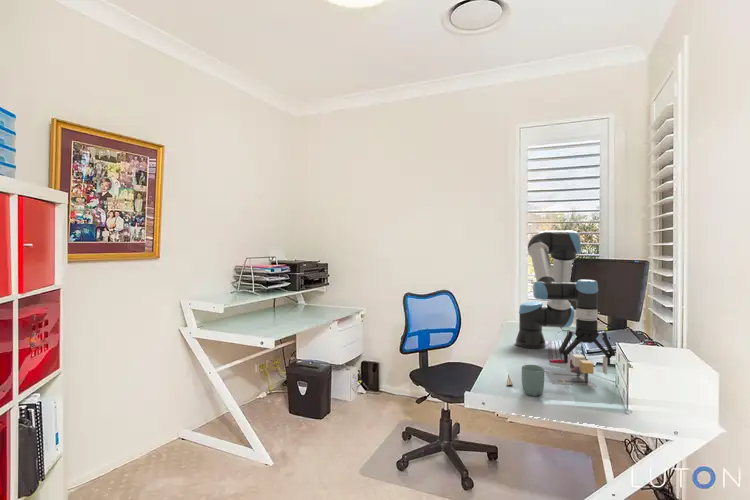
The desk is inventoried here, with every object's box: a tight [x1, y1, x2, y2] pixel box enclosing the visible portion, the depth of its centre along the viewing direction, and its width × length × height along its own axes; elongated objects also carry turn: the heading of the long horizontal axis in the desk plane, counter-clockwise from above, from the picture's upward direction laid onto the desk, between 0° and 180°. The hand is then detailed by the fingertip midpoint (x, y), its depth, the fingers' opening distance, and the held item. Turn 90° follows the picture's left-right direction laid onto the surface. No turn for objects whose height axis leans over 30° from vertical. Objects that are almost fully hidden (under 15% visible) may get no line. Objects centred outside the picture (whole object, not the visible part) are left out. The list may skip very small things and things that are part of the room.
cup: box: [521, 364, 545, 397], centre depth 152 cm, size 8×8×10 cm
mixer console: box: [544, 370, 597, 387], centre depth 165 cm, size 16×16×1 cm
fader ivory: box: [571, 353, 586, 375], centre depth 168 cm, size 4×4×8 cm
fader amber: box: [579, 359, 595, 382], centre depth 160 cm, size 4×4×8 cm
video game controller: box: [565, 359, 582, 373], centre depth 177 cm, size 10×5×7 cm, turn 169°
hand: (586, 372), depth 160 cm, fingers open, 13 cm apart
